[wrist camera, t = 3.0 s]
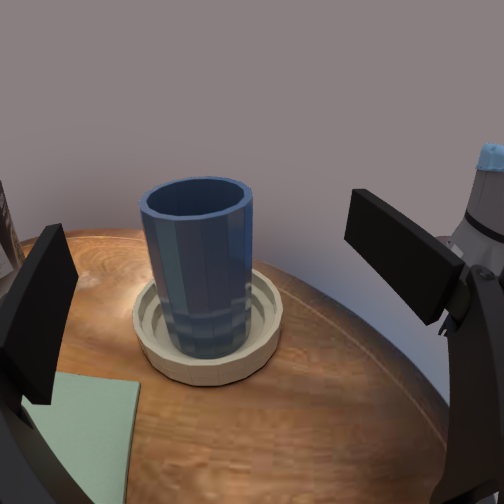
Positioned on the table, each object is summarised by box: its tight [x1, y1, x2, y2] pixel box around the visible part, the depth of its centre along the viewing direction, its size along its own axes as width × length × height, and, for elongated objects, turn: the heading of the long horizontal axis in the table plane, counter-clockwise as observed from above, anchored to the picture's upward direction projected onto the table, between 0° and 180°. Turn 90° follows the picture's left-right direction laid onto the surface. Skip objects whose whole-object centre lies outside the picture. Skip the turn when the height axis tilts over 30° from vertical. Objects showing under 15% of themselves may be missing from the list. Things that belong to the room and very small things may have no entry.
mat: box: [21, 371, 141, 504], centre depth 14 cm, size 20×20×1 cm
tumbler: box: [139, 176, 253, 359], centre depth 25 cm, size 8×8×14 cm
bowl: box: [132, 269, 283, 386], centre depth 28 cm, size 14×14×4 cm
